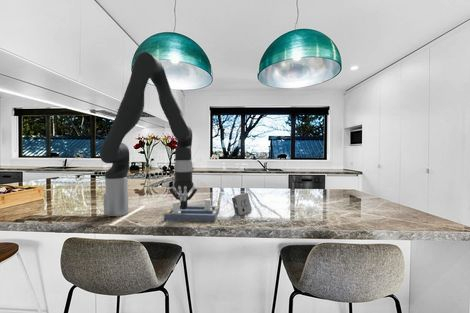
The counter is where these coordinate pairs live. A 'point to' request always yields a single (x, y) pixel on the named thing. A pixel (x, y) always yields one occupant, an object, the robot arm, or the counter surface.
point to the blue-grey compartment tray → (193, 214)
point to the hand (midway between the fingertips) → (184, 208)
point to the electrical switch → (241, 204)
